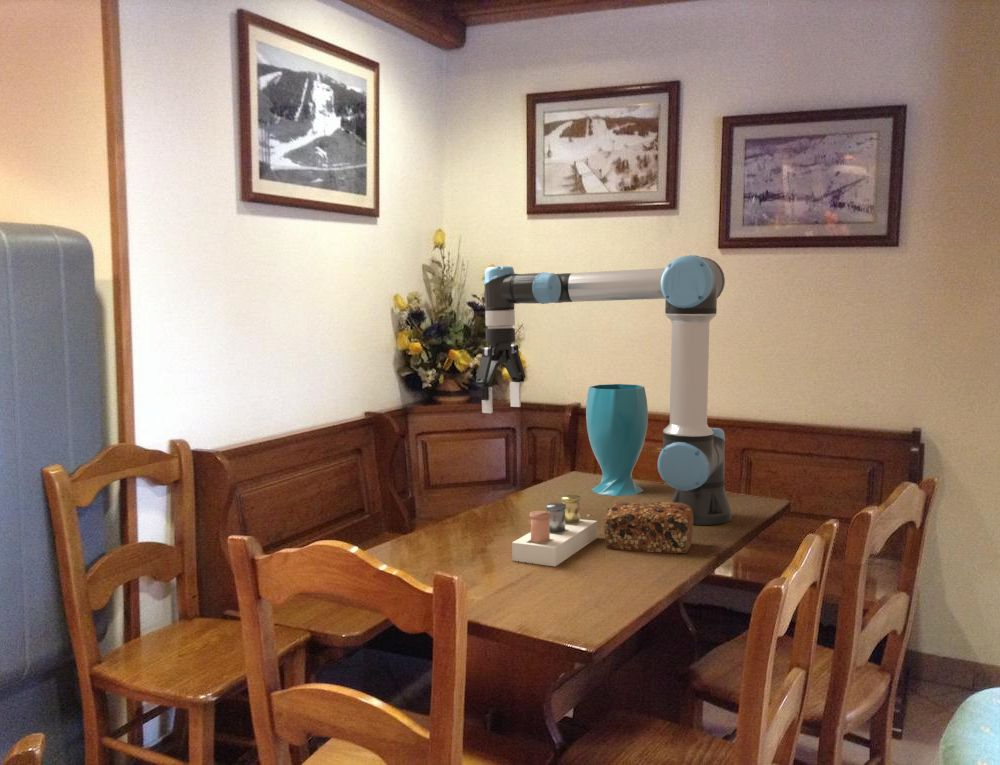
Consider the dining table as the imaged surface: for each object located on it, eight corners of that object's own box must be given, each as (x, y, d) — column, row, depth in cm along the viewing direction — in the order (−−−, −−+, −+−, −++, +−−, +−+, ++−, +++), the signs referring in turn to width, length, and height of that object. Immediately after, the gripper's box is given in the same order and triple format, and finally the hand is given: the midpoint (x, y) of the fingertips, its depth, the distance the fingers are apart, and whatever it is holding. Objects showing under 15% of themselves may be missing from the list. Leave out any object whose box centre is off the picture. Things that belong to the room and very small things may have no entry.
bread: (694, 543, 200) (694, 500, 199) (687, 556, 190) (687, 511, 189) (613, 537, 207) (613, 495, 206) (602, 549, 197) (602, 505, 196)
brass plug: (583, 520, 205) (583, 495, 205) (576, 524, 202) (576, 499, 201) (566, 518, 207) (565, 494, 207) (558, 522, 204) (558, 498, 203)
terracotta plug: (553, 538, 190) (553, 512, 190) (545, 543, 187) (544, 516, 186) (535, 536, 192) (534, 510, 192) (526, 541, 189) (526, 514, 188)
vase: (632, 499, 243) (631, 391, 241) (576, 492, 253) (575, 388, 250) (657, 487, 258) (656, 385, 255) (603, 481, 267) (602, 382, 264)
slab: (597, 537, 206) (596, 520, 205) (555, 566, 184) (555, 547, 184) (557, 533, 210) (557, 516, 210) (512, 560, 189) (512, 542, 189)
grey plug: (569, 529, 198) (569, 503, 197) (561, 533, 194) (561, 507, 193) (551, 527, 200) (551, 501, 199) (543, 531, 196) (542, 506, 195)
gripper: (513, 325, 239) (514, 403, 241) (460, 329, 218) (462, 414, 220) (537, 325, 235) (538, 404, 237) (485, 329, 214) (487, 416, 216)
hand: (501, 409), depth 228 cm, fingers open, 13 cm apart
